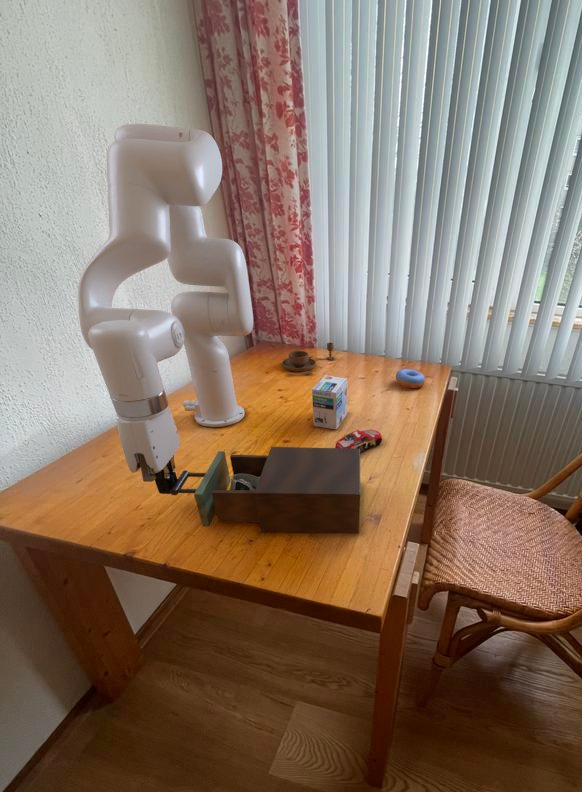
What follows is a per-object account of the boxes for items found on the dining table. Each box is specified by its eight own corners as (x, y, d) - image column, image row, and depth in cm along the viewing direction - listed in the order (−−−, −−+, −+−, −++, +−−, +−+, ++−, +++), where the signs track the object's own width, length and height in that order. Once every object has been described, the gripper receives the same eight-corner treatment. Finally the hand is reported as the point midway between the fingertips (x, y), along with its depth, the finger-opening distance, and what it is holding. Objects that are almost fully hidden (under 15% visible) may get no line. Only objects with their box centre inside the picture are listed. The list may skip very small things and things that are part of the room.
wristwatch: (224, 497, 74) (219, 476, 71) (247, 480, 79) (244, 460, 76) (261, 513, 71) (257, 492, 68) (283, 495, 75) (280, 474, 73)
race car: (372, 434, 102) (372, 421, 99) (386, 443, 98) (387, 429, 96) (331, 450, 94) (331, 436, 92) (345, 460, 91) (345, 445, 88)
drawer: (167, 526, 68) (156, 493, 64) (194, 480, 80) (186, 450, 75) (296, 527, 70) (293, 495, 66) (305, 482, 81) (303, 452, 77)
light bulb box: (336, 430, 102) (336, 393, 96) (312, 426, 103) (310, 389, 97) (348, 413, 111) (348, 377, 105) (325, 409, 112) (324, 374, 106)
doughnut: (426, 381, 134) (427, 369, 132) (421, 392, 126) (422, 379, 124) (398, 377, 136) (399, 364, 133) (392, 388, 128) (393, 374, 125)
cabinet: (260, 532, 70) (254, 492, 64) (275, 483, 82) (271, 446, 77) (359, 533, 71) (360, 494, 66) (359, 484, 83) (360, 448, 78)
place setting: (280, 359, 144) (278, 343, 141) (333, 357, 149) (332, 341, 146) (284, 376, 130) (283, 359, 127) (342, 373, 136) (342, 357, 132)
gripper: (139, 383, 68) (166, 468, 78) (89, 423, 56) (129, 517, 66) (183, 385, 68) (204, 469, 79) (143, 425, 56) (174, 518, 66)
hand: (170, 491), depth 72 cm, fingers closed
